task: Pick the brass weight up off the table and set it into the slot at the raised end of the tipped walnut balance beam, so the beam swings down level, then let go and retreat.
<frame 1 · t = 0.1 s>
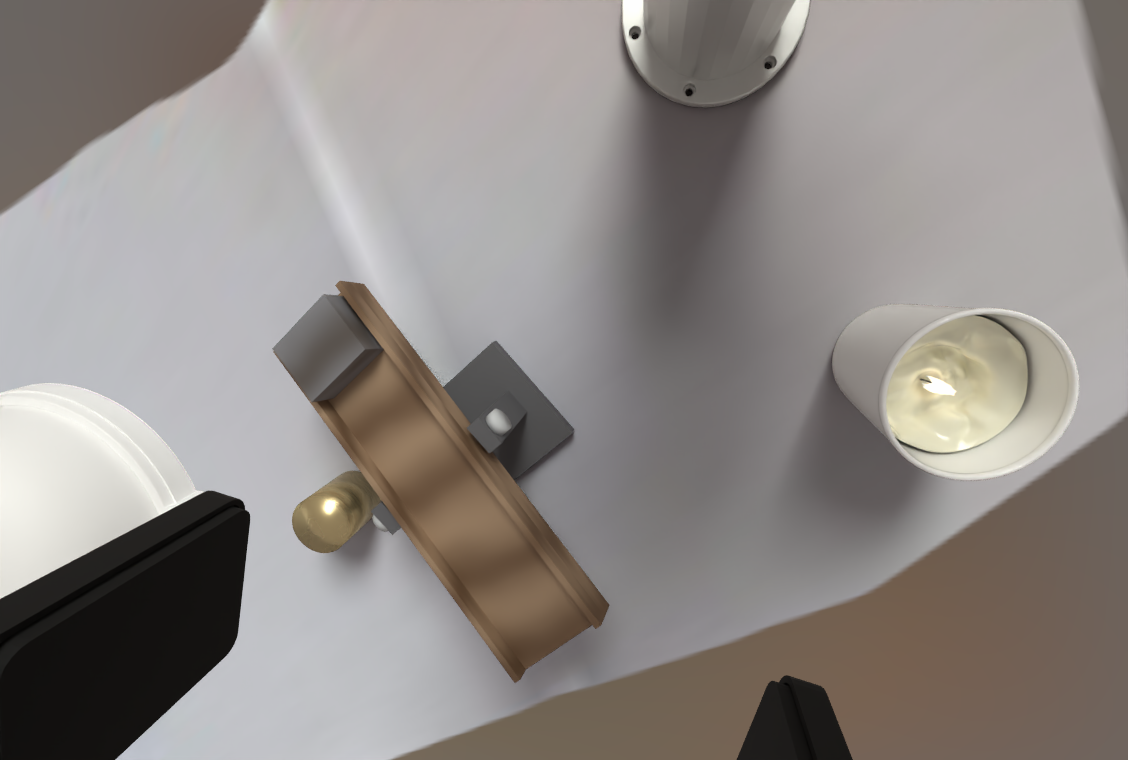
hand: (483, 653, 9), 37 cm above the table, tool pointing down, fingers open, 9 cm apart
balance beam: (431, 476, 40), point 9 cm above the table, hinge at -10.0°
brass weight: (356, 495, 52), on the table
dome cover: (87, 519, 59), on the table
candle holder: (888, 358, 42), on the table
beam stand: (473, 437, 49), on the table
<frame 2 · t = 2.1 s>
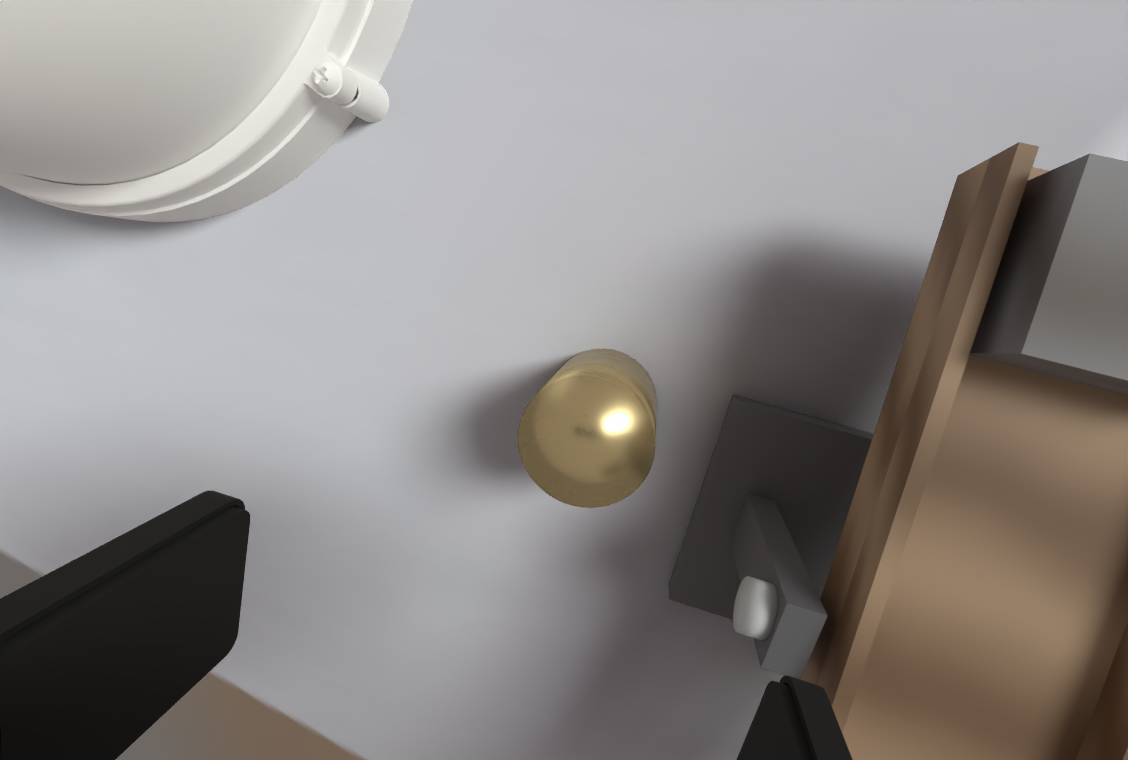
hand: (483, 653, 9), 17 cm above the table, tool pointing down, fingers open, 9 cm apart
balance beam: (973, 693, 16), point 9 cm above the table, hinge at -10.0°
brass weight: (602, 401, 26), on the table
beam stand: (861, 542, 25), on the table
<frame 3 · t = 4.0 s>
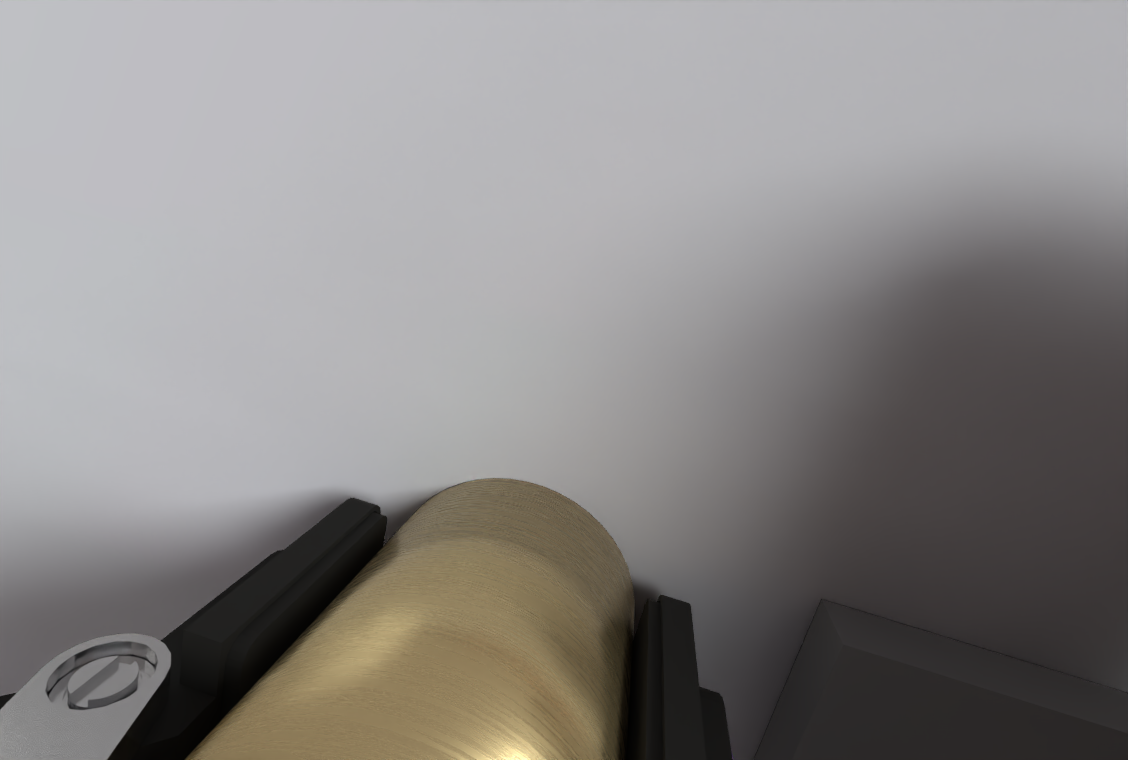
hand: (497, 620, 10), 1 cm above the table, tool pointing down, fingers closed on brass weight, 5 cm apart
brass weight: (508, 595, 11), on the table, touching gripper
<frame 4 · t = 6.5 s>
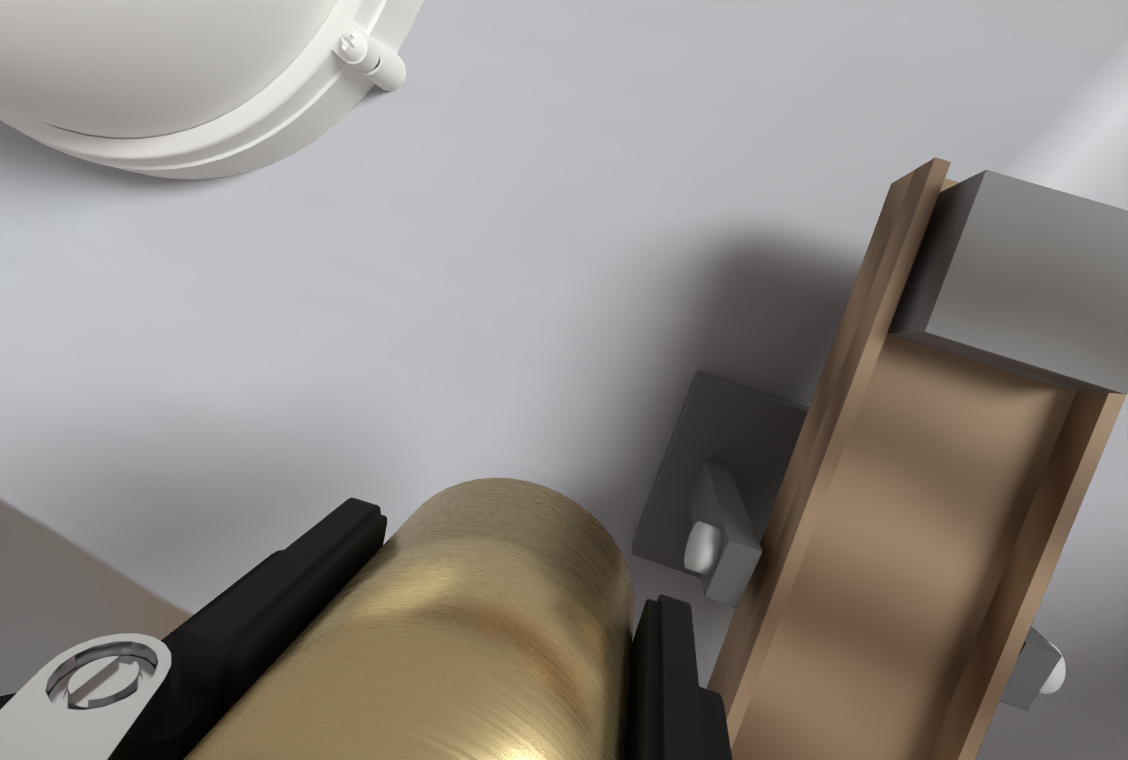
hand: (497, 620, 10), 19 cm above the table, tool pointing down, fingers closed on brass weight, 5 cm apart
balance beam: (879, 619, 19), point 9 cm above the table, hinge at -10.0°
brass weight: (508, 595, 11), point 18 cm above the table, touching gripper
beam stand: (804, 508, 28), on the table
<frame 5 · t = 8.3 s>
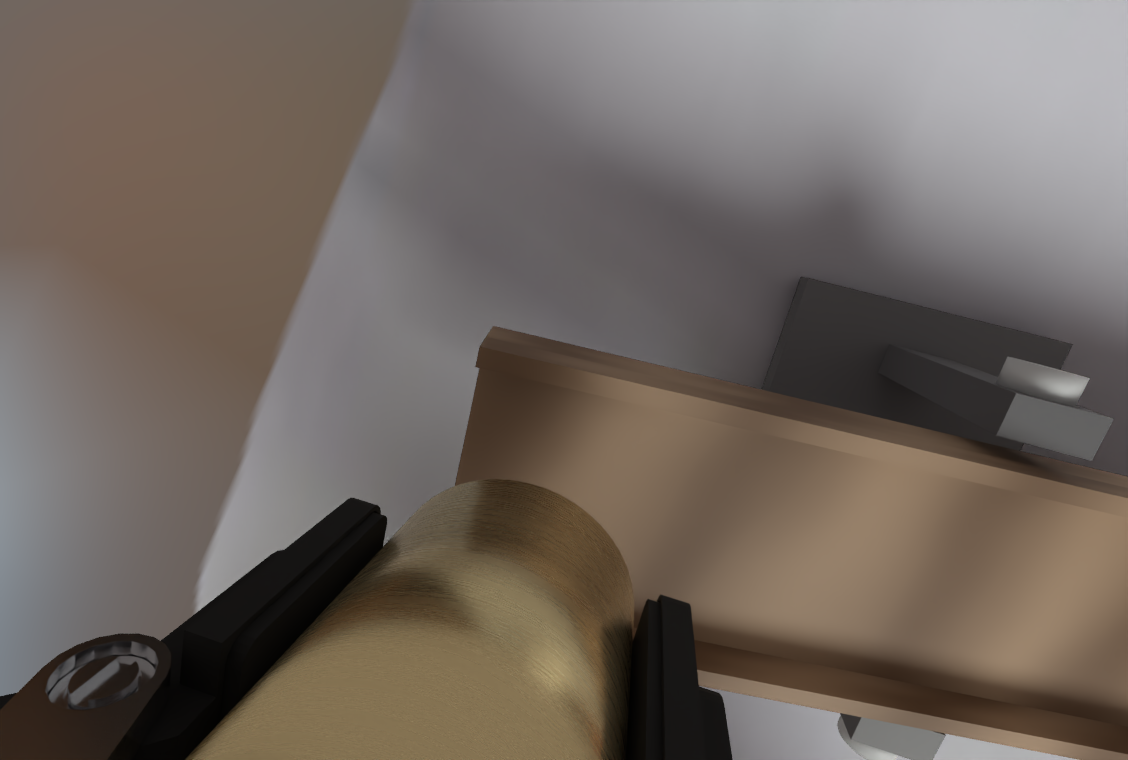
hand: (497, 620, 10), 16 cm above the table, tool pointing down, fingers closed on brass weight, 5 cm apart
balance beam: (976, 597, 16), point 9 cm above the table, hinge at -10.0°
brass weight: (508, 596, 11), point 15 cm above the table, touching gripper
beam stand: (855, 471, 24), on the table
when the fingers open (13 cm above the table, at t = 9.1 s): brass weight drops 4 cm, resting on balance beam.
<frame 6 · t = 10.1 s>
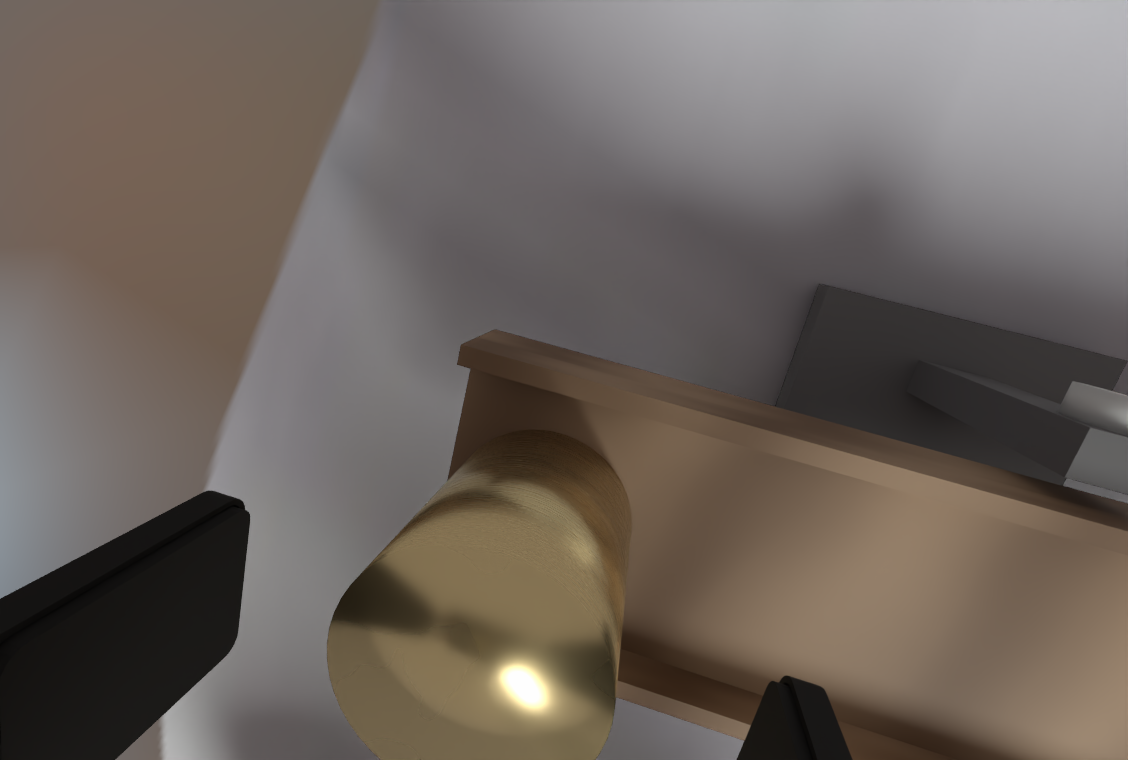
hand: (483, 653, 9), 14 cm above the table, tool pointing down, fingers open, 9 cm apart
balance beam: (1027, 663, 13), point 9 cm above the table, hinge at 0.3°, touching brass weight
brass weight: (539, 517, 15), point 9 cm above the table, touching balance beam
beam stand: (878, 499, 22), on the table
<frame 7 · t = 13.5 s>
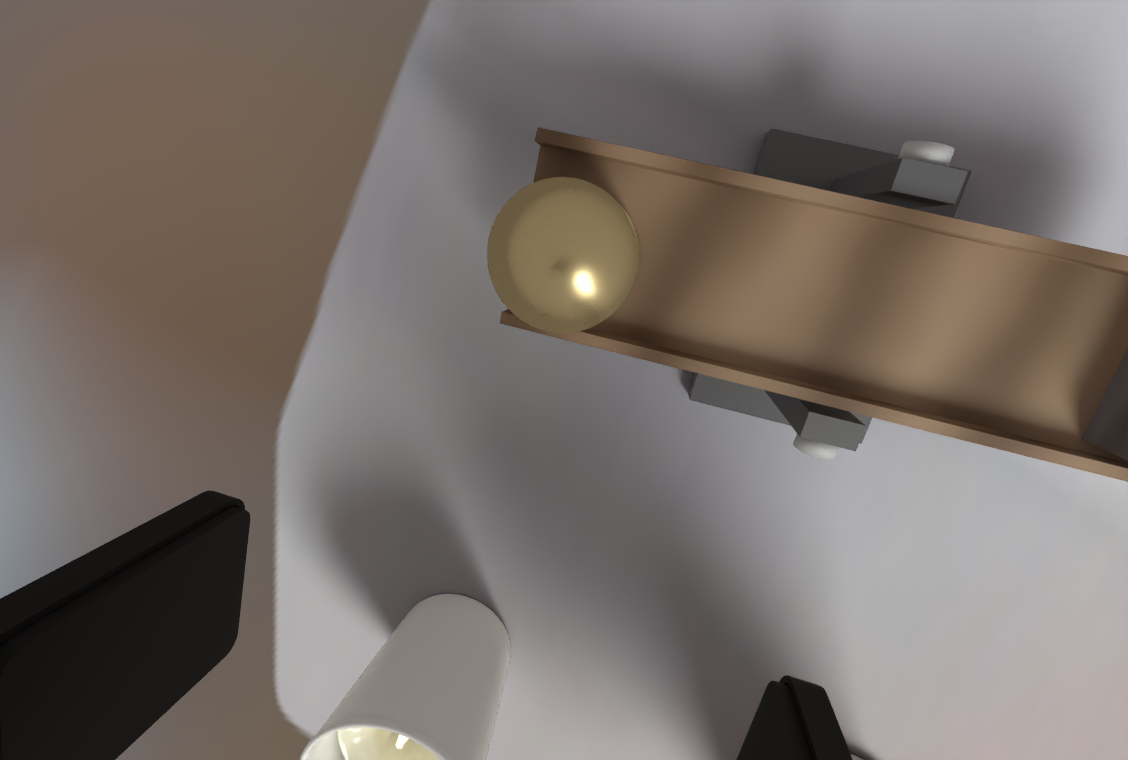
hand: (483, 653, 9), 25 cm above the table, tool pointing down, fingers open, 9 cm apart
balance beam: (877, 314, 22), point 9 cm above the table, hinge at 0.3°, touching brass weight
brass weight: (582, 253, 24), point 9 cm above the table, touching balance beam
candle holder: (457, 639, 41), on the table
beam stand: (812, 292, 31), on the table
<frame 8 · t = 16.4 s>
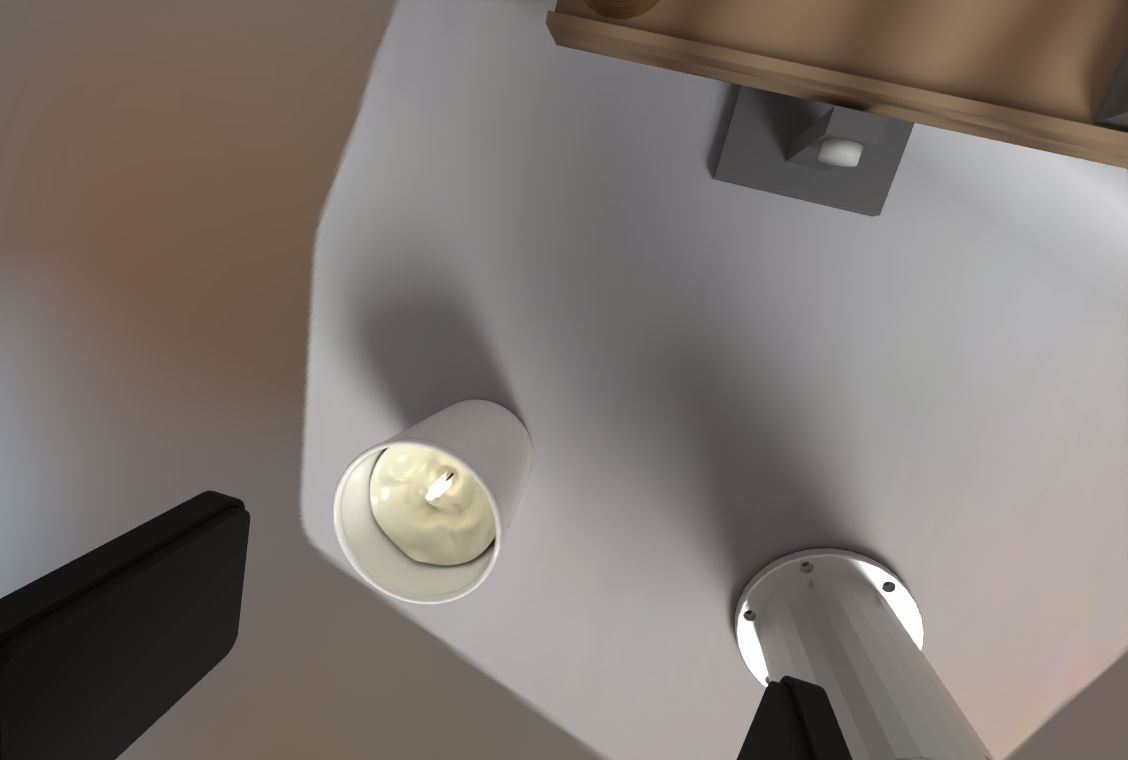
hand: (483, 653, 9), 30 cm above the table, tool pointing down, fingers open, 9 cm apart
candle holder: (481, 450, 42), on the table
beam stand: (834, 68, 33), on the table
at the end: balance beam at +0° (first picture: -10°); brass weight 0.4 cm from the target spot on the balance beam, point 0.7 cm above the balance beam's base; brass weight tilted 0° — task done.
